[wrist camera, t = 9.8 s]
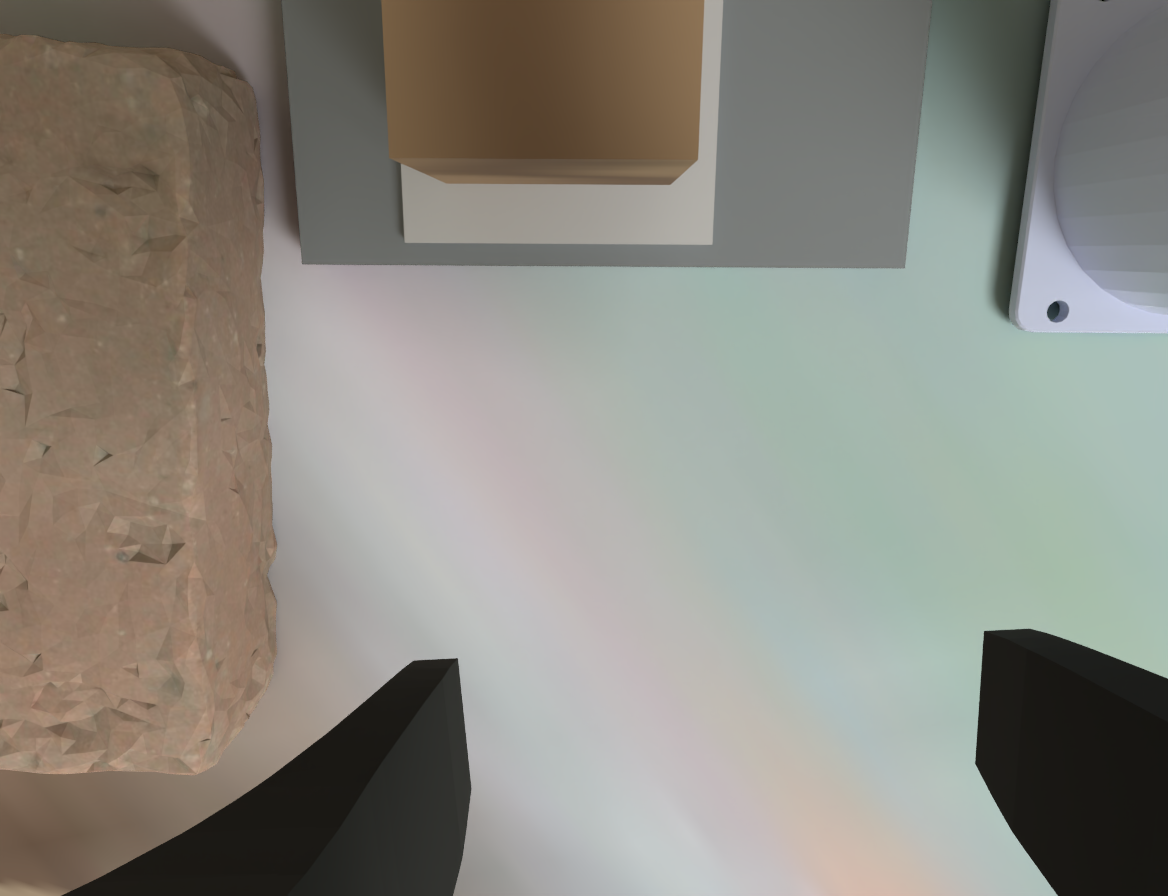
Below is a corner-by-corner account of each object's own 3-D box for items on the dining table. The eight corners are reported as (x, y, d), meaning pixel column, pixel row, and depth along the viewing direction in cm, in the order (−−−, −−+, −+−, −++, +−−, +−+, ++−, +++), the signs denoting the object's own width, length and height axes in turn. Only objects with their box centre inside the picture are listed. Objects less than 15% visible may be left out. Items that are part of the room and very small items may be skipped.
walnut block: (677, -69, 16) (713, -204, 11) (670, 185, 18) (698, 160, 13) (438, -69, 16) (370, -203, 12) (446, 183, 18) (389, 158, 13)
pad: (725, -102, 16) (728, -108, 16) (710, 244, 18) (712, 244, 18) (391, -102, 17) (387, -108, 16) (407, 242, 18) (404, 242, 18)
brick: (-76, 47, 19) (-291, -16, 14) (274, 74, 19) (170, 20, 14) (1, 667, 23) (-147, 772, 18) (288, 689, 23) (210, 799, 18)
